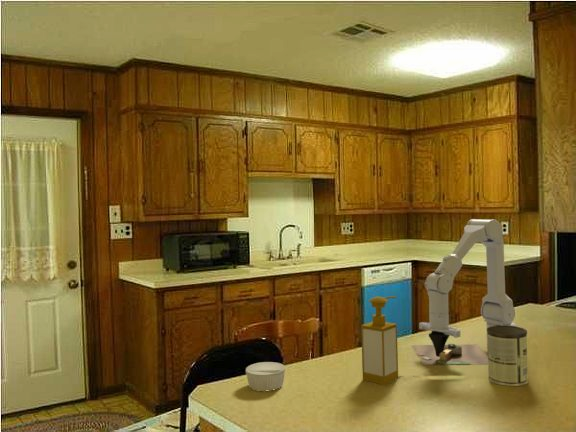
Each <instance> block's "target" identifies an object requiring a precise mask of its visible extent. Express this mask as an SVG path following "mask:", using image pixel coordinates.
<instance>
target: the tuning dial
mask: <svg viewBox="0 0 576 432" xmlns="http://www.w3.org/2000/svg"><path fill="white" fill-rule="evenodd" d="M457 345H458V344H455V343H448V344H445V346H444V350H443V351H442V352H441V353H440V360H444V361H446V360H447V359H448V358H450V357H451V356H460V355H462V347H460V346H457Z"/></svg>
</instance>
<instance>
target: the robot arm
mask: <svg viewBox="0 0 576 432" xmlns="http://www.w3.org/2000/svg"><path fill="white" fill-rule="evenodd" d="M503 229H504V228H503V225H502V223H501V222H500V221H498V220H497V219H493V218H492V219H476V218H472V219H471V218H470V220H468V222H466V225H465V226H464V228H463V230H464V231H463V234H462V236H461V238H460V239H459V241H458V243H457V245H456V246H455V248H454V250H453V251H452V253H451V254H446V255H444V256H443V258H442V260H441V262H440V263H439V265H438V267H437V268H436V269H435V270H434V272H432V273H430V274H429V275H427V277H426V279H425V282H424V288H425V289H426V290H427V295H428V307H429V308H428V310H429V314H428V315H429V316H428V317H429V322H426V321H423V322H419V323H418V324H419V325H418V327H419V329H420V330H426V331H430V333H428V338H429V339H430V340H431V343H432V345H434V348H435V351H436V356H437V357H439V356H440V353H441V352H442V351H443V350H444V346H445V345H446V343H447V342H448V339H449V337H450V336H451V337H453V338H455V339H456V338H461V330H460V329H457V328H454V327H452V326H450V325H449V324H450V323H449V322H450V321H449V320H450V318H449V317H450V316H449V292H450V291H452V289H453V284H454V281H455V280H454V279H455V277H456V276H457V274H458V272H459V271H460V270H461V268H462V267H463V259H464V258H465V257H466V255H467V254H468V253H469V251H470V250H471V249H472V248H473V247H474V245H475V244H477V243H480V244H482V245H483V246H484V247H485V250H486V252H485V253H486V257H485V258H486V280H487V282H486V283H487V293H486V294H485V295H484V296H483V297H482V299H481V300H482V301H481V307H480V314H481V317H482V318H483V319H484V322H485V324H486V326H485V327H486V329H487V328H489V327H492V326H515V327H518V326H517V324H516V323H515V322H514V320H515V319H516V318H515V317H516V309H515V307H514V302H513V300H512V298H511V297H509V296H508V295H507V293H506V278H505V277H506V275H505V274H506V272H505V245H504V244H505V243H504V235H503V231H504V230H503ZM486 347H487V348H488V337H487V336H486Z"/></svg>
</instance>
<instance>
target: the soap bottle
mask: <svg viewBox="0 0 576 432" xmlns="http://www.w3.org/2000/svg"><path fill="white" fill-rule="evenodd" d="M388 299H397V297H396V296H385V297H383V296H374V297H372V298H370V299H369V300H368V302H369V303H370V304H371V308H375V313H374V314H372V316H371V318H372V321H370V322H367V323H365V324H364V323H363V324H361V325H360V326H361V328H360V331H361V365H362V369H361V370H362V381H365V380H366V382H369V381H370V382H371V383H373V382H374V383H373V384H377V385H382V386H385V385H388V384H390V383H391V382H394V381H396V380H398V379H399V359H398V357H399V355H398V326H397V323H393V322H388V321H386V314H382V308H386V303H388V302H389V300H388Z"/></svg>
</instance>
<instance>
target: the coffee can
mask: <svg viewBox="0 0 576 432" xmlns="http://www.w3.org/2000/svg"><path fill="white" fill-rule="evenodd" d="M527 335H528V330H527V329H526V328H523V327H520V326H517V327H515V326H492V327H489V328H487V327H486V338H487V337H488V347H487V354H488V365H487V366H488V368H487V369H488V381H490V382H491V383H493V384H496V385H498V386H504V387H505V386H506V387H520V386H521V387H522V386H525V385H527V384H528V383H529V379H528V343H527V342H528V341H527V339H528V338H527Z"/></svg>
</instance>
